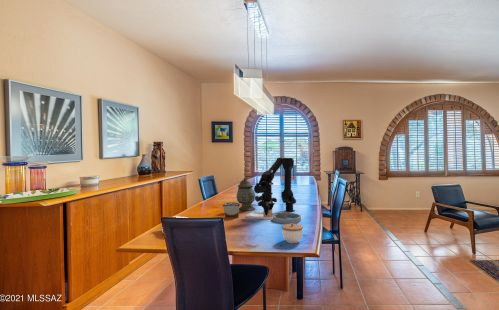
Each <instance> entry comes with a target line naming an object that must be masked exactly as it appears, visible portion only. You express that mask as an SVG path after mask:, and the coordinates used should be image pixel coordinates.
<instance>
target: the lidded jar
mask: <svg viewBox="0 0 499 310" xmlns="http://www.w3.org/2000/svg"><path fill="white" fill-rule="evenodd" d="M303 230H304V226H303V225H302V224H299V223H295V224H293V223H291V224H290V223H284V224H283V225H282V226H281V232H282V233H281V235H282V236H283V239H284V240H285V241H286V242H287V243H289V244H298V243H299V241H300V240H301V239H302V237H303V235H304V234H303V232H304V231H303Z"/></svg>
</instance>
